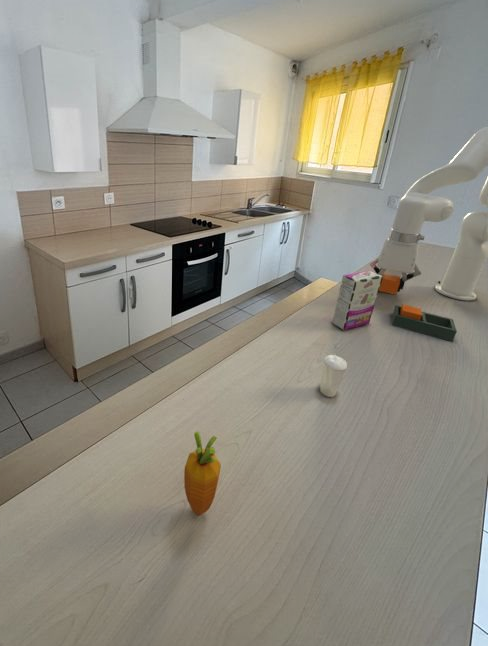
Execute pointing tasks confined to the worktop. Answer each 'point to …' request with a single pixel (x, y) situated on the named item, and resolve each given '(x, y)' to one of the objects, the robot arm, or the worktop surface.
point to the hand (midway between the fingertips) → (388, 287)
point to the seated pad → (410, 312)
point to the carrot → (201, 476)
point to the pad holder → (426, 324)
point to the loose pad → (390, 284)
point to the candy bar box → (356, 299)
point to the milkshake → (332, 374)
